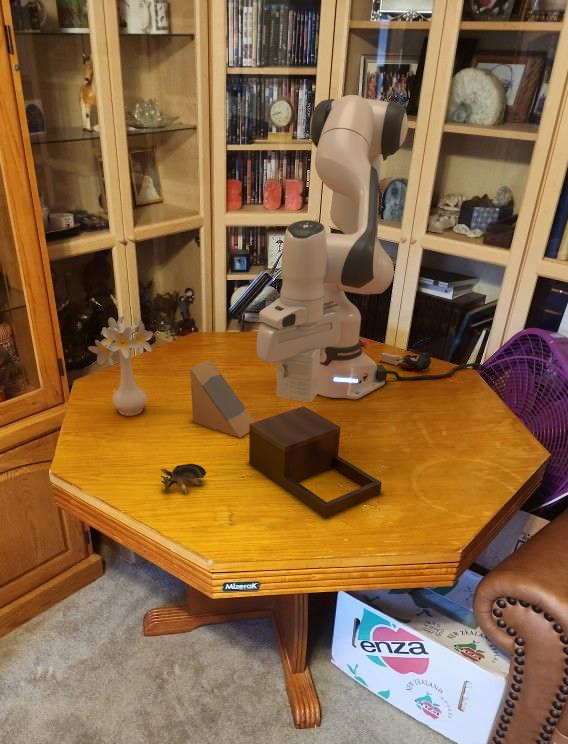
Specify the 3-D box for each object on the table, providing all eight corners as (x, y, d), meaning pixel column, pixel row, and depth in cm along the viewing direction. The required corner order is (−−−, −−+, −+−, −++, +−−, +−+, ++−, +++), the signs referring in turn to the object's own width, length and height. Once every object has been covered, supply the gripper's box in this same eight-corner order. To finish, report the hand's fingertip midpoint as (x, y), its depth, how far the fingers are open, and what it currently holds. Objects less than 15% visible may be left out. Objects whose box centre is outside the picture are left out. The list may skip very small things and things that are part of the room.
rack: (301, 444, 164) (303, 405, 158) (380, 493, 145) (386, 452, 140) (248, 463, 156) (249, 424, 150) (325, 518, 138) (329, 475, 132)
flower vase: (92, 424, 172) (79, 330, 158) (123, 394, 186) (114, 306, 172) (138, 431, 169) (129, 336, 155) (166, 401, 183) (160, 311, 169)
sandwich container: (240, 438, 166) (240, 382, 158) (191, 422, 173) (189, 368, 165) (259, 425, 172) (260, 370, 163) (211, 409, 179) (210, 357, 170)
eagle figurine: (175, 500, 141) (211, 482, 144) (161, 469, 140) (198, 452, 143) (167, 500, 148) (202, 483, 151) (153, 471, 147) (189, 454, 150)
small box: (318, 393, 146) (321, 347, 140) (310, 403, 142) (313, 357, 136) (284, 387, 149) (286, 342, 143) (275, 397, 144) (276, 351, 138)
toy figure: (377, 368, 204) (427, 374, 198) (379, 347, 201) (429, 353, 196) (383, 362, 210) (431, 368, 204) (385, 342, 207) (434, 348, 201)
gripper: (329, 295, 141) (325, 356, 149) (252, 313, 132) (251, 378, 139) (350, 303, 137) (344, 365, 145) (271, 322, 127) (270, 388, 135)
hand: (298, 372), depth 142 cm, fingers closed on small box, 7 cm apart
